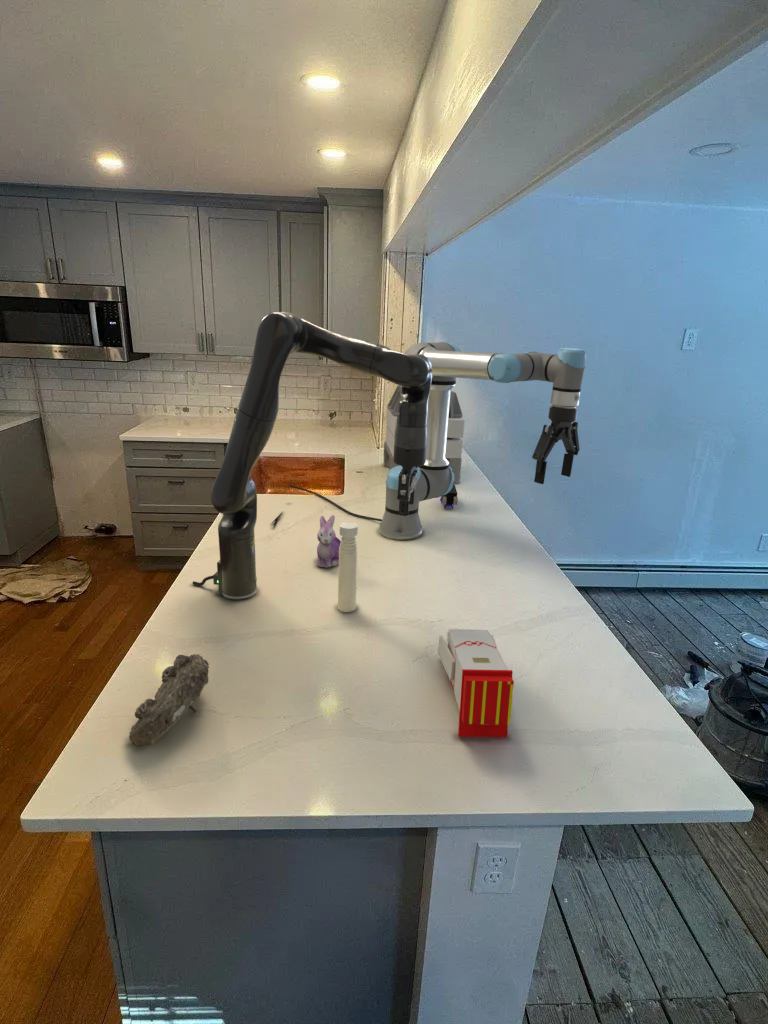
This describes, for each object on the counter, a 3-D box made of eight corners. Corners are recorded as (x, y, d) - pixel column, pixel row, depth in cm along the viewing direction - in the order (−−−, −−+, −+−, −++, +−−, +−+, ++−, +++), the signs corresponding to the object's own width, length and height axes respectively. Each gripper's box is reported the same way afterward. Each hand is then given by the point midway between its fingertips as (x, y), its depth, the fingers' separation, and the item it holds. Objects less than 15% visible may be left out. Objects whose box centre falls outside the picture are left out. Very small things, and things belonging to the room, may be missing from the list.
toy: (488, 613, 130) (523, 677, 101) (484, 667, 133) (517, 744, 104) (435, 612, 130) (455, 676, 101) (432, 666, 133) (451, 743, 103)
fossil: (160, 655, 118) (210, 623, 113) (193, 685, 121) (243, 655, 116) (104, 739, 99) (161, 705, 94) (145, 772, 102) (202, 741, 97)
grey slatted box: (382, 463, 289) (386, 382, 275) (445, 464, 293) (451, 384, 279) (390, 482, 257) (394, 392, 243) (460, 483, 261) (468, 394, 247)
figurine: (321, 571, 169) (321, 524, 164) (309, 557, 177) (309, 512, 172) (350, 565, 173) (351, 520, 168) (337, 553, 182) (338, 509, 177)
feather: (289, 506, 225) (292, 502, 225) (272, 529, 199) (275, 525, 198) (286, 503, 225) (288, 500, 225) (268, 527, 199) (271, 522, 198)
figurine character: (457, 514, 225) (453, 498, 239) (459, 497, 222) (455, 481, 236) (441, 513, 225) (437, 497, 239) (442, 496, 222) (439, 481, 235)
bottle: (342, 602, 152) (343, 522, 144) (358, 605, 151) (360, 525, 143) (335, 610, 148) (336, 528, 140) (351, 613, 147) (353, 531, 139)
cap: (343, 529, 145) (344, 521, 144) (360, 532, 144) (360, 523, 143) (336, 535, 141) (336, 526, 140) (353, 538, 140) (353, 529, 139)
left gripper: (399, 436, 139) (396, 498, 144) (388, 449, 125) (385, 517, 131) (430, 438, 137) (425, 502, 143) (422, 452, 124) (417, 521, 130)
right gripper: (549, 412, 147) (538, 489, 155) (599, 405, 163) (587, 475, 170) (525, 407, 153) (515, 482, 160) (576, 401, 168) (565, 469, 175)
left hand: (406, 509), depth 137 cm, fingers open, 8 cm apart
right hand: (552, 479), depth 165 cm, fingers open, 13 cm apart
